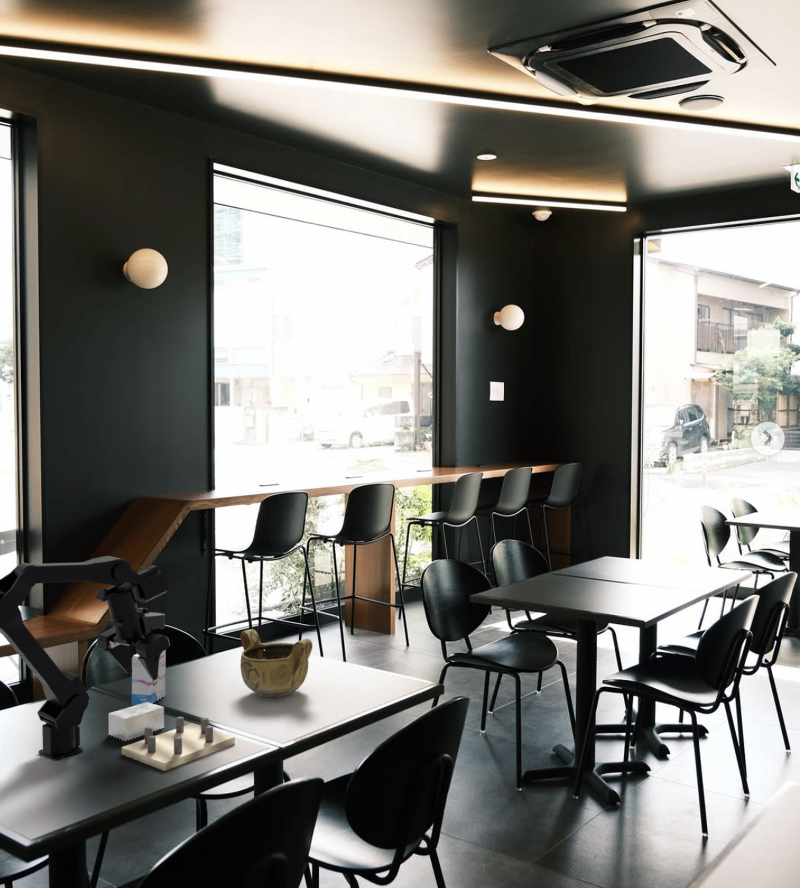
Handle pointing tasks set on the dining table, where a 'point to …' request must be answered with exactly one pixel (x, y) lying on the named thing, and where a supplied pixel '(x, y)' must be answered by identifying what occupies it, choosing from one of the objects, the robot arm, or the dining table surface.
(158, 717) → the block
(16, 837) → the dining table surface
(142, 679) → the ink box
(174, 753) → the pin tray
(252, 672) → the ceramic bowl
